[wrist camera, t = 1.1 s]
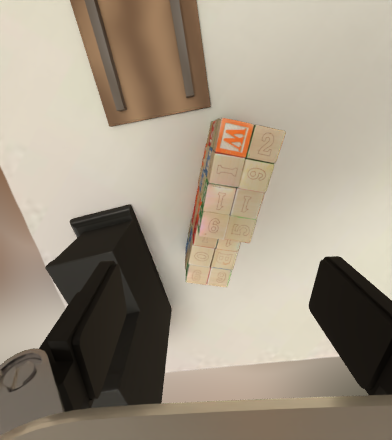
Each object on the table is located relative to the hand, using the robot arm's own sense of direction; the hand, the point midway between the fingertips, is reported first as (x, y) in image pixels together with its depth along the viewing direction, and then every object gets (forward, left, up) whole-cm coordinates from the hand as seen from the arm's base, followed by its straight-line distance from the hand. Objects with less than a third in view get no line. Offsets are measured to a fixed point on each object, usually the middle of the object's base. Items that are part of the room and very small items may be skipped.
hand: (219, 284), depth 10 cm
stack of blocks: (-2, +4, -26) cm, 26 cm away
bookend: (+16, +15, -26) cm, 34 cm away
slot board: (+4, -20, -25) cm, 33 cm away
